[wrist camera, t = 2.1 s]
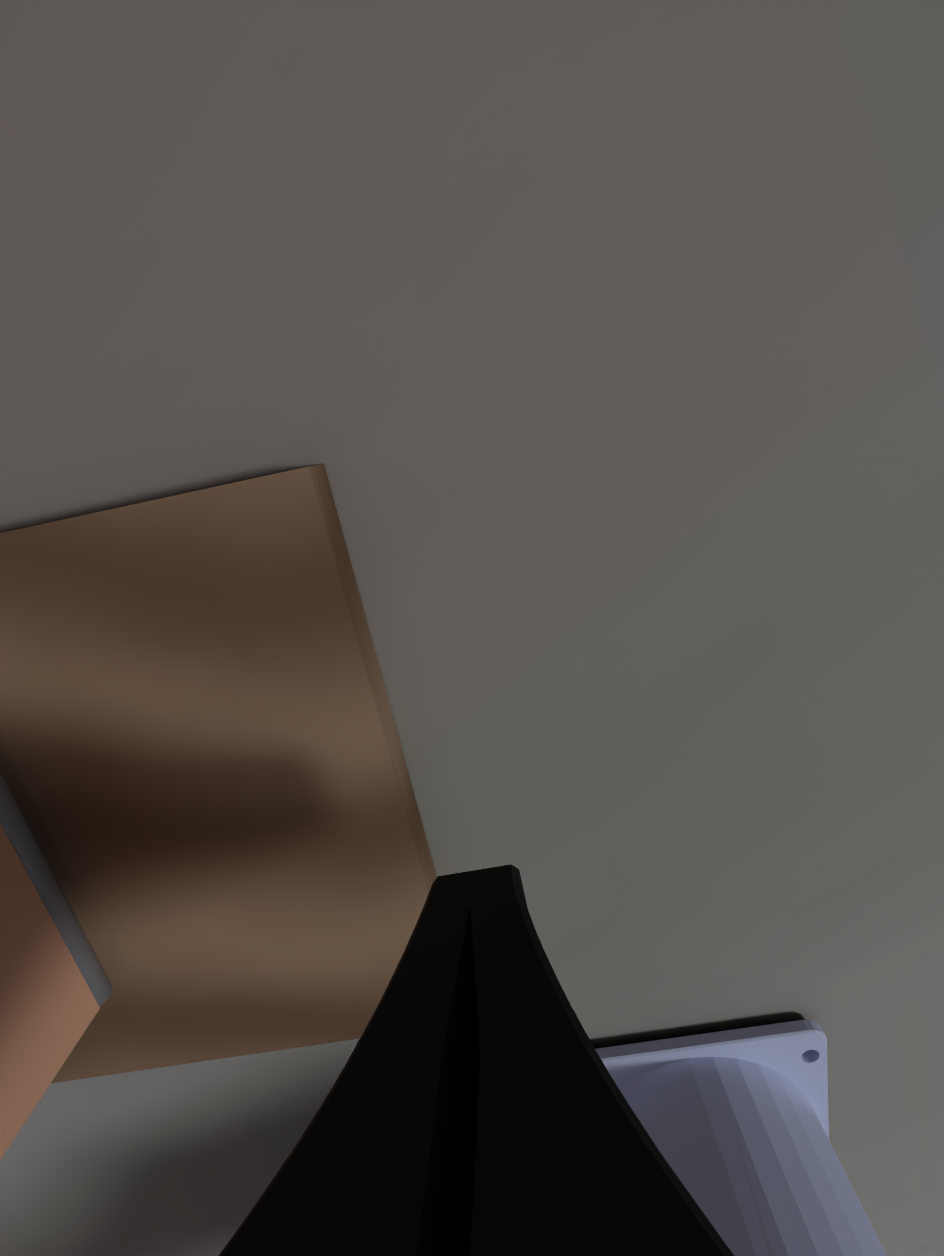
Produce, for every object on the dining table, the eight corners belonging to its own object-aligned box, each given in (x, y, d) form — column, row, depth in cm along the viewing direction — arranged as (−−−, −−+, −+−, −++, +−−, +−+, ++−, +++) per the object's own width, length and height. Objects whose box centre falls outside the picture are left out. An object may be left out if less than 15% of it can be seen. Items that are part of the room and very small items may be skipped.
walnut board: (466, 983, 17) (465, 1022, 16) (-95, 1067, 18) (-133, 1109, 17) (323, 463, 13) (308, 466, 11) (-409, 622, 14) (-490, 639, 13)
